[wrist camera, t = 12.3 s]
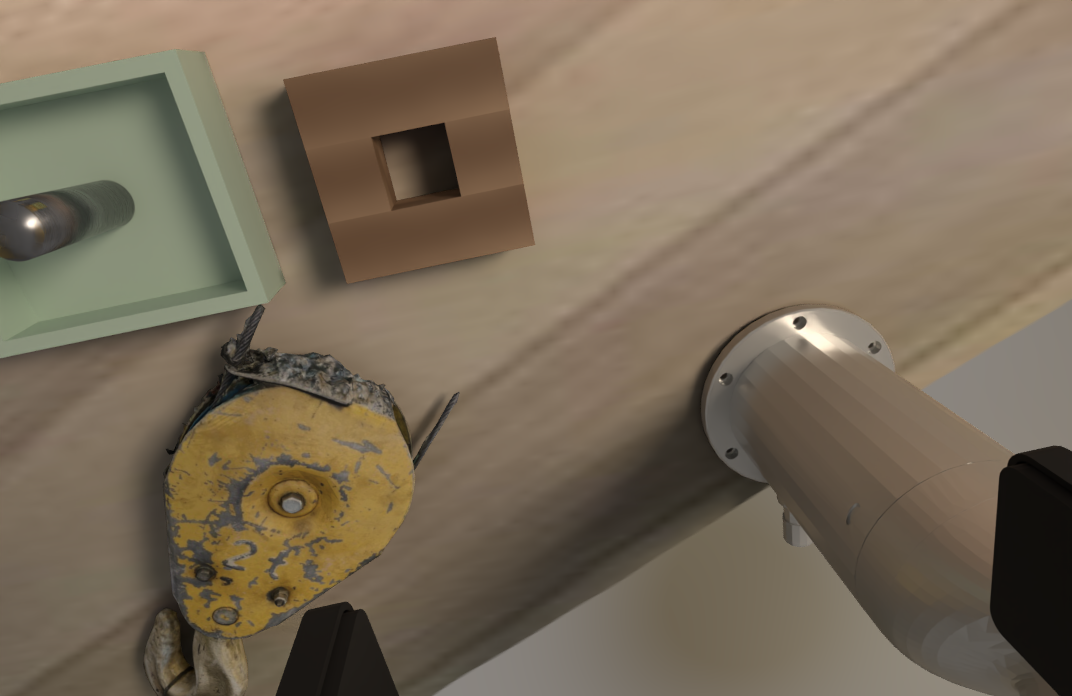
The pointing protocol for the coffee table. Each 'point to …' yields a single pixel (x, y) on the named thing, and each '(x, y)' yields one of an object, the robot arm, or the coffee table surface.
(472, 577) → the coffee table surface
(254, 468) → the pulley block
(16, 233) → the pin
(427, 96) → the block
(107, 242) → the tray
